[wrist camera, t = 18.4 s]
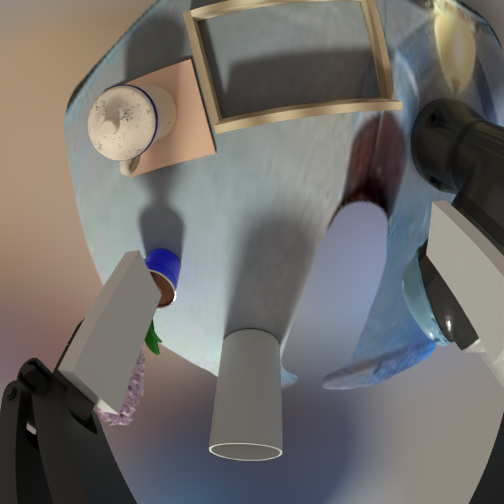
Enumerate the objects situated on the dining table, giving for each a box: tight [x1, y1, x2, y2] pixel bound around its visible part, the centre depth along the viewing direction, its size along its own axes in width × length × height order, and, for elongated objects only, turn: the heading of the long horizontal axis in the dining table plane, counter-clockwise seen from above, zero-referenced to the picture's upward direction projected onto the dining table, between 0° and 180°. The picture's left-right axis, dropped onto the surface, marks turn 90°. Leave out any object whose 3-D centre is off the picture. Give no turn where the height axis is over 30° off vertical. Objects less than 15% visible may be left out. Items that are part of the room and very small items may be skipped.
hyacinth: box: [96, 249, 181, 425], centre depth 35 cm, size 9×10×30 cm
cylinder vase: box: [209, 329, 282, 460], centre depth 49 cm, size 12×12×25 cm
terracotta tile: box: [125, 59, 216, 178], centre depth 34 cm, size 14×14×1 cm
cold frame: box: [183, 0, 403, 134], centre depth 26 cm, size 24×17×7 cm
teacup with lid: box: [88, 84, 177, 176], centre depth 29 cm, size 12×9×12 cm
